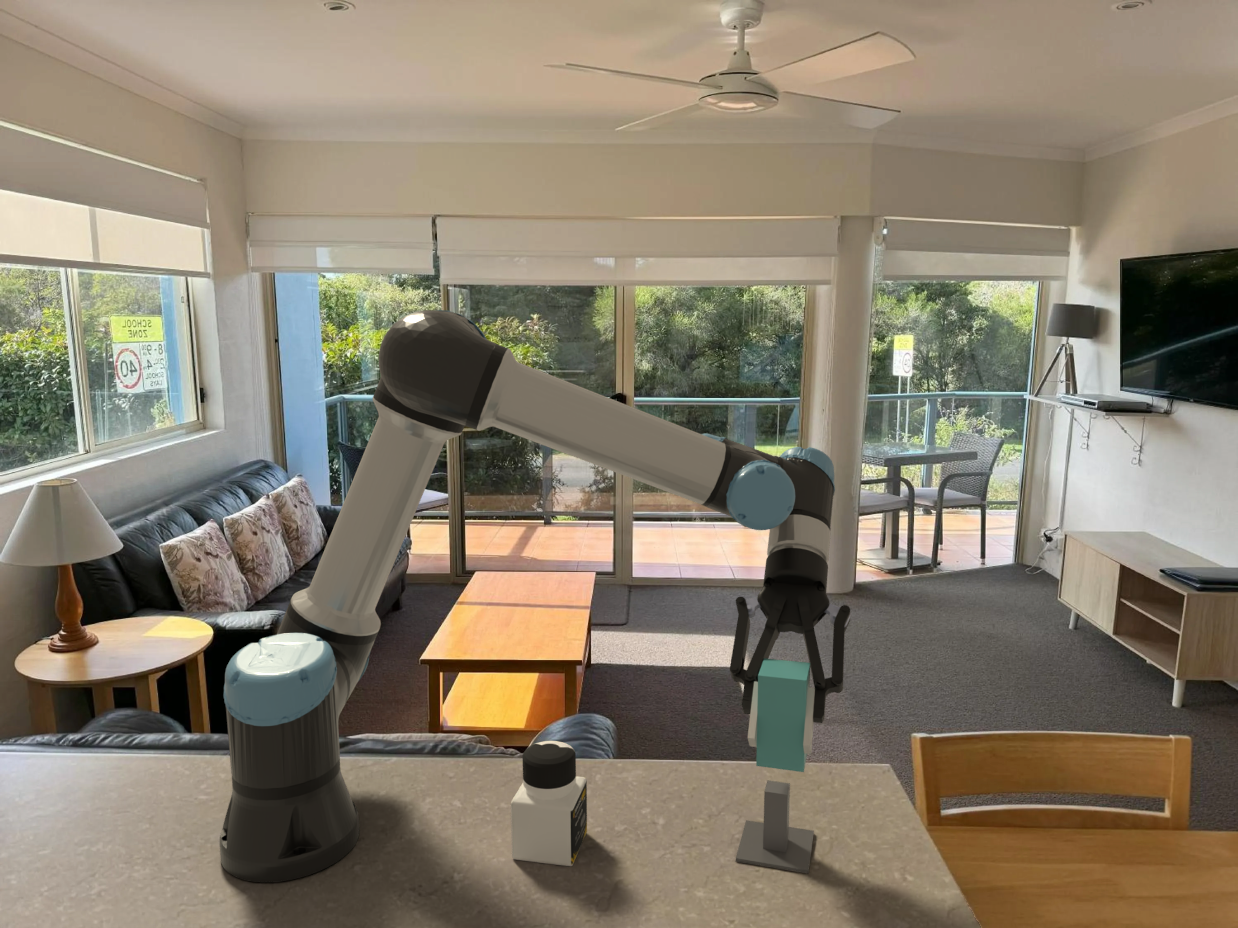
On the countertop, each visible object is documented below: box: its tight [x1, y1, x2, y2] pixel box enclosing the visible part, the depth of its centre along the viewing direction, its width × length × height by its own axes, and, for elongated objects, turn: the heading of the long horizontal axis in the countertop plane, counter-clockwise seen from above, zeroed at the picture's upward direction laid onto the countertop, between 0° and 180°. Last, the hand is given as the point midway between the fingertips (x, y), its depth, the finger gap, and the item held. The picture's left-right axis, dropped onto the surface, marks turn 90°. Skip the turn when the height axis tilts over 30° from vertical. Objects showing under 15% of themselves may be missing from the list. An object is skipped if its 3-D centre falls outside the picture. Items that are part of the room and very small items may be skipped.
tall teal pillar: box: [755, 658, 811, 773], centre depth 99 cm, size 5×5×11 cm
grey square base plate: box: [735, 779, 815, 874], centre depth 101 cm, size 8×8×7 cm
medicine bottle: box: [510, 740, 588, 867], centre depth 101 cm, size 7×7×12 cm
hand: (779, 745), depth 96 cm, fingers closed on tall teal pillar, 5 cm apart
